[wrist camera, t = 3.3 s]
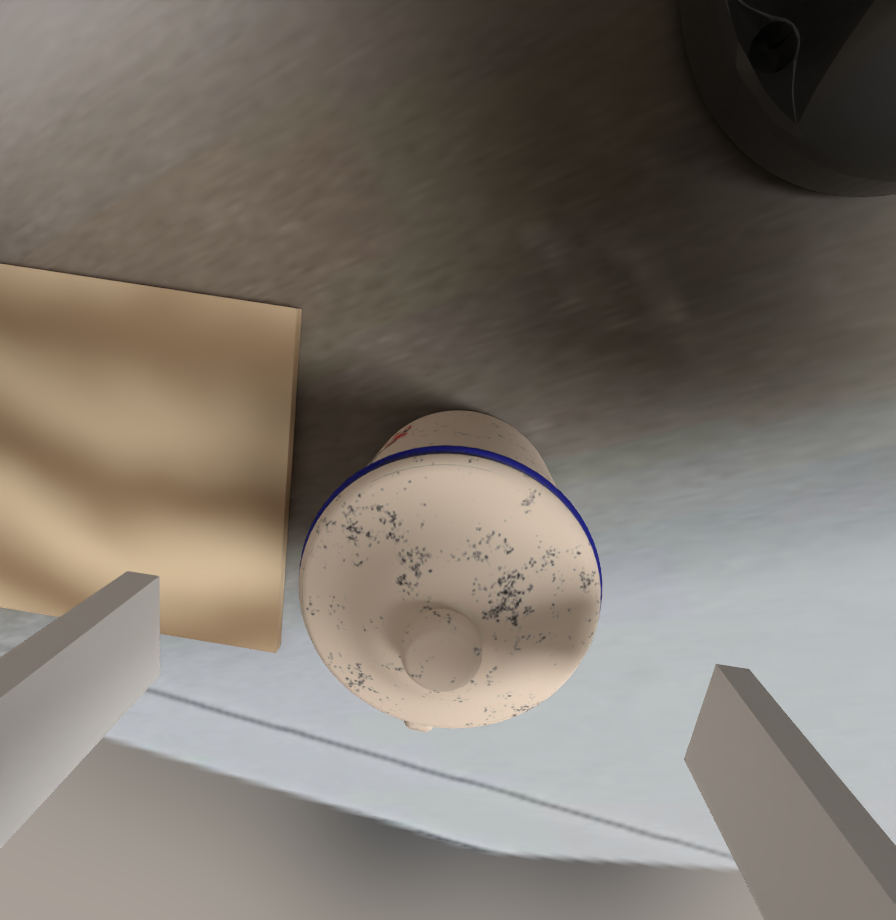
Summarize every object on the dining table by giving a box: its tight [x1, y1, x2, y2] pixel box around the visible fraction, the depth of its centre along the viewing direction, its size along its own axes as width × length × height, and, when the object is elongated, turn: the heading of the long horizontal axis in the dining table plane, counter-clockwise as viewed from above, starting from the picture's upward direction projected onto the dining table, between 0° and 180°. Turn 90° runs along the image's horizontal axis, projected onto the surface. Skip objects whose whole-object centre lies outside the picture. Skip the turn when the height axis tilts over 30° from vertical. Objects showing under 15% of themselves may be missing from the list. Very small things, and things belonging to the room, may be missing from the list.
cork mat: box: [0, 264, 302, 653], centre depth 23 cm, size 17×20×1 cm
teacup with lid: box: [299, 410, 602, 732], centre depth 17 cm, size 12×9×12 cm
